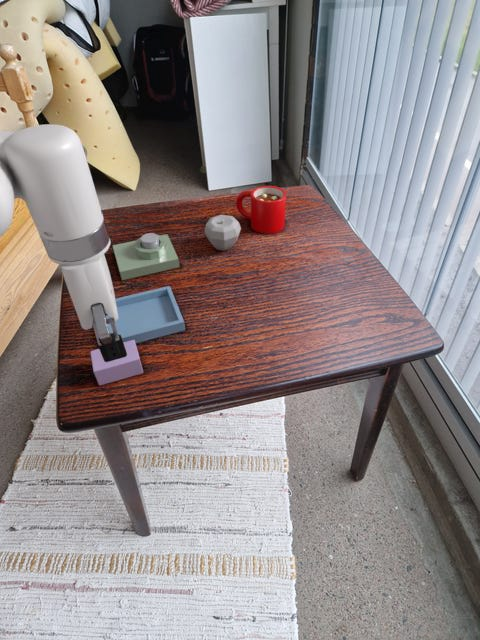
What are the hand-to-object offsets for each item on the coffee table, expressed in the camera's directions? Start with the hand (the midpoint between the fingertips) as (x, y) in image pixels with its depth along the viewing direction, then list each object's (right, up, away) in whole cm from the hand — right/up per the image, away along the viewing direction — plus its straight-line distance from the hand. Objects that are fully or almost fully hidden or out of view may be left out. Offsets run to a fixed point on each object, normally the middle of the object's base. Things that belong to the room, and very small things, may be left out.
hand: (111, 334), depth 63 cm
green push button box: (-1, +15, +27) cm, 31 cm away
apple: (+16, +18, +30) cm, 39 cm away
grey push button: (+1, +18, +25) cm, 30 cm away
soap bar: (0, -6, +5) cm, 8 cm away
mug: (+24, +25, +37) cm, 51 cm away
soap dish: (+2, +2, +14) cm, 14 cm away
